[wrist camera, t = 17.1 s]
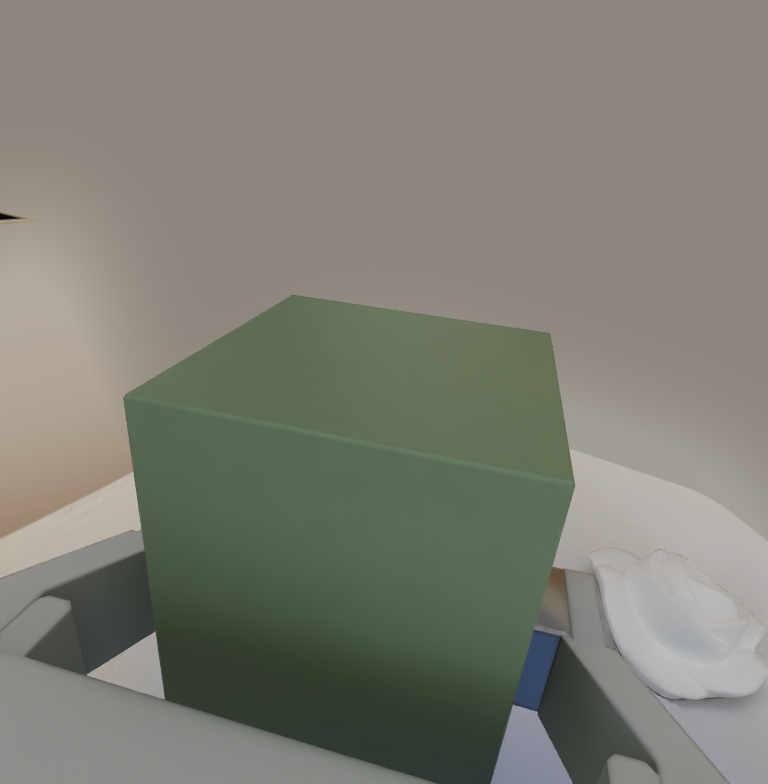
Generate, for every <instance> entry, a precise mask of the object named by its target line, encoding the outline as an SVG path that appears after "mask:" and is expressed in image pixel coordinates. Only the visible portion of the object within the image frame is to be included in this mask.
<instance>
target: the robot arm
mask: <svg viewBox="0 0 768 784" xmlns="http://www.w3.org/2000/svg"><path fill="white" fill-rule="evenodd" d="M155 631H156V630H155V623H154V616H153V609H152V601H151V594H150V587H149V580H148V573H147V565H146V558H145V551H144V544H143V536H142V529H141V530H140V531H139V532H138V531H134V530H131V531H128V532H125V533H122V534H120V535H117V536H114V537H111V538H109V539H106V540H103V541H100V542H98V543H95V544H92V545H89V546H87V547H84V548H81V549H79V550H76V551H73V552H70V553H68V554H65V555H62V556H59V557H57V558H54V559H51V560H48V561H46V562H43V563H40V564H37V565H35V566H32V567H29V568H27V569H24V570H21V571H18V572H16V573H13V574H10V575H7V576H5V577H2V578H0V784H438V783H434V782H431V781H428V780H425V779H421V778H418V777H415V776H411V775H408V774H405V773H402V772H398V771H395V770H392V769H389V768H385V767H382V766H379V765H375V764H372V763H369V762H366V761H362V760H359V759H356V758H353V757H349V756H346V755H343V754H340V753H336V752H333V751H330V750H326V749H323V748H320V747H317V746H313V745H310V744H307V743H304V742H300V741H297V740H294V739H291V738H287V737H284V736H281V735H278V734H274V733H271V732H268V731H265V730H261V729H258V728H255V727H252V726H248V725H245V724H242V723H239V722H235V721H232V720H229V719H226V718H222V717H219V716H216V715H213V714H209V713H206V712H203V711H200V710H196V709H193V708H190V707H187V706H183V705H180V704H177V703H174V702H170V701H167V700H164V699H161V698H157V697H154V696H151V695H148V694H144V693H141V692H138V691H134V690H131V689H128V688H125V687H121V686H118V685H115V684H112V683H108V682H105V681H102V680H99V679H95V678H92V677H89V676H87V674H88V673H90V672H91V671H93V670H94V669H96V668H98V667H99V666H101V665H102V664H104V663H106V662H107V661H109V660H110V659H112V658H114V657H115V656H117V655H118V654H120V653H121V652H123V651H125V650H126V649H128V648H129V647H131V646H133V645H134V644H136V643H137V642H139V641H141V640H142V639H144V638H145V637H147V636H148V635H150V634H152V633H153V632H155ZM513 705H517V706H520V707H523V708H527V709H530V710H533V711H537V712H538V716H539V718H540V720H541V722H542V724H543V726H544V728H545V730H546V732H547V734H548V736H549V738H550V740H551V741H552V743H553V745H554V747H555V749H556V751H557V753H558V755H559V757H560V759H561V761H562V763H563V765H564V767H565V769H566V770H567V772H568V774H569V776H570V778H571V780H572V782H573V784H730V783H729V782H728V780H727V779H726V778H725V777H724V776H723V775H722V773H721V772H720V771H719V770H718V769H717V768H716V766H715V765H714V764H713V763H712V762H711V761H710V759H709V758H708V757H707V756H706V755H705V754H704V752H703V751H702V750H701V749H700V748H699V747H698V745H697V744H696V743H695V742H694V741H693V740H692V738H691V737H690V736H689V735H688V734H687V733H686V731H685V730H684V729H683V728H682V727H681V726H680V724H679V723H678V722H677V721H676V720H675V719H674V717H673V716H672V715H671V714H670V713H669V712H668V710H667V709H666V708H665V707H664V706H663V705H662V703H661V702H660V701H659V700H658V699H657V697H656V696H655V695H654V694H653V693H652V692H651V690H650V689H649V688H648V687H647V686H646V685H645V683H644V682H643V681H642V680H641V679H640V678H639V676H638V675H637V674H636V673H635V672H634V671H633V669H632V668H631V667H630V666H629V665H628V664H627V662H626V661H625V660H624V659H623V658H622V657H621V655H620V654H619V653H618V652H617V651H616V650H615V649H613V648H609V647H606V643H605V637H604V631H603V626H602V620H601V615H600V609H599V603H598V598H597V592H596V587H595V581H594V578H593V576H592V575H591V574H588V573H583V572H578V571H573V570H568V569H560V568H556V567H552V569H551V572H550V576H549V579H548V583H547V586H546V590H545V593H544V597H543V600H542V604H541V607H540V611H539V614H538V618H537V622H536V625H535V629H534V632H533V636H532V639H531V643H530V646H529V650H528V653H527V657H526V660H525V664H524V667H523V671H522V674H521V678H520V681H519V685H518V688H517V692H516V695H515V699H514V702H513Z"/></svg>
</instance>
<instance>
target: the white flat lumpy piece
mask: <svg viewBox="0 0 768 784" xmlns="http://www.w3.org/2000/svg"><path fill="white" fill-rule="evenodd" d="M590 561H591V565H592V567H593V570H594V572H595V575H596V577H597V579H598V583H599V588H600V593H601V599H602V604H603V609H604V612H605V615H606V618H607V622H608V625H609V628H610V631H611V634H612V637H613V639H614V641H615V643H616V645H617V647H618V649H619V651H620V653H621V655H622V657H623V659H624V660H625V661H626V662H627V664H628V665H629V666H630V667H631V668H632V669H633V671H634V672H635V673H636V674H637V675H638V676H639V678H640V679H641V680H642V681H643V682H644V683H645V685H647V686H648V687H649V688H651V689H652V690H654V691H655V692H657V693H658V694H660V695H661V696H663V697H665V698H669V699H681V698H686V699H692V700H701V699H703V698H714V697H731V698H737V697H744V696H747V695H750V694H752V693H754V692H756V691H757V690H758V689H759V688H760V687H761V686H762V685H763V684H764V683H765V682H766V681H767V680H768V664H767V663H766V662H765V661H764V660H763V659H762V658H761V657H760V656H759V655H758V654H757V652H756V651H755V647H756V646H757V644H758V643H759V642H760V641H761V639H762V638H763V637H764V634H765V629H764V626H763V624H762V623H761V622H760V621H759V620H758V619H757V618H756V617H755V616H754V615H752V614H751V613H750V612H749V611H748V610H747V609H746V608H745V607H744V605H743V604H742V603H740V602H739V601H738V600H737V599H736V598H735V597H734V596H732V595H731V594H730V593H728V592H727V591H725V590H724V589H722V588H720V587H719V586H717V585H716V584H715V583H714V582H713V581H711V580H710V579H708V578H707V577H706V576H705V574H704V573H703V572H702V571H701V570H700V569H699V568H698V567H697V566H696V565H694V564H693V563H692V562H691V561H689V560H688V559H686V558H685V557H683V556H682V555H679V554H673V553H668V552H667V551H666V550H665V549H658V550H656V551H654V552H652V553H650V554H649V555H647V556H646V557H645V558H643V559H642V560H640V559H639V558H638V557H636V556H635V555H633V554H632V553H630V552H627V551H625V550H621V549H616V548H607V549H600V550H596V551H594V552H592V553H591V555H590Z"/></svg>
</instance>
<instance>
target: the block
mask: <svg viewBox="0 0 768 784" xmlns="http://www.w3.org/2000/svg"><path fill="white" fill-rule="evenodd" d="M124 406H125V413H126V421H127V428H128V435H129V442H130V449H131V456H132V464H133V471H134V478H135V486H136V493H137V500H138V507H139V515H140V522H141V529H142V536H143V544H144V551H145V558H146V565H147V573H148V580H149V587H150V594H151V601H152V609H153V616H154V623H155V630H156V638H157V645H158V652H159V659H160V667H161V674H162V681H163V688H164V696H165V700H167V701H170V702H174V703H177V704H180V705H183V706H187V707H190V708H193V709H196V710H200V711H203V712H206V713H209V714H213V715H216V716H219V717H222V718H226V719H229V720H232V721H235V722H239V723H242V724H245V725H248V726H252V727H255V728H258V729H261V730H265V731H268V732H271V733H274V734H278V735H281V736H284V737H287V738H291V739H294V740H297V741H300V742H304V743H307V744H310V745H313V746H317V747H320V748H323V749H326V750H330V751H333V752H336V753H340V754H343V755H346V756H349V757H353V758H356V759H359V760H362V761H366V762H369V763H372V764H375V765H379V766H382V767H385V768H389V769H392V770H395V771H398V772H402V773H405V774H408V775H411V776H415V777H418V778H421V779H425V780H428V781H431V782H434V783H438V784H490V783H491V780H492V776H493V773H494V769H495V766H496V762H497V759H498V755H499V752H500V748H501V745H502V741H503V738H504V734H505V731H506V727H507V723H508V720H509V716H510V713H511V709H512V706H513V702H514V699H515V695H516V692H517V688H518V685H519V681H520V678H521V674H522V671H523V667H524V664H525V660H526V657H527V653H528V650H529V646H530V643H531V639H532V636H533V632H534V629H535V625H536V622H537V618H538V614H539V611H540V607H541V604H542V600H543V597H544V593H545V590H546V586H547V583H548V579H549V576H550V572H551V569H552V565H553V562H554V558H555V555H556V551H557V548H558V544H559V541H560V537H561V534H562V530H563V527H564V523H565V520H566V516H567V513H568V509H569V506H570V502H571V498H572V495H573V491H574V488H575V483H574V477H573V470H572V464H571V458H570V452H569V446H568V440H567V433H566V427H565V421H564V415H563V409H562V403H561V396H560V390H559V384H558V378H557V371H556V365H555V359H554V353H553V346H552V340H551V335H550V334H549V333H545V332H539V331H531V330H525V329H519V328H512V327H505V326H498V325H491V324H485V323H478V322H472V321H465V320H458V319H451V318H444V317H437V316H431V315H424V314H417V313H410V312H404V311H398V310H390V309H384V308H377V307H371V306H364V305H357V304H350V303H344V302H337V301H330V300H324V299H317V298H310V297H303V296H297V295H291V296H290V297H288V298H286V299H285V300H283V301H281V302H280V303H278V304H276V305H275V306H273V307H271V308H270V309H268V310H266V311H265V312H263V313H261V314H260V315H258V316H256V317H255V318H253V319H251V320H250V321H248V322H246V323H245V324H243V325H241V326H240V327H238V328H236V329H235V330H233V331H231V332H229V333H228V334H226V335H224V336H223V337H221V338H219V339H218V340H216V341H214V342H213V343H211V344H209V345H208V346H206V347H204V348H202V349H201V350H199V351H197V352H196V353H194V354H192V355H191V356H189V357H187V358H186V359H184V360H183V361H181V362H179V363H177V364H176V365H174V366H172V367H171V368H169V369H167V370H166V371H164V372H162V373H161V374H159V375H157V376H156V377H154V378H152V379H150V380H149V381H147V382H145V383H144V384H142V385H140V386H139V387H137V388H135V389H134V390H132V391H130V392H129V393H127V394H126V395H125V396H124Z"/></svg>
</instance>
